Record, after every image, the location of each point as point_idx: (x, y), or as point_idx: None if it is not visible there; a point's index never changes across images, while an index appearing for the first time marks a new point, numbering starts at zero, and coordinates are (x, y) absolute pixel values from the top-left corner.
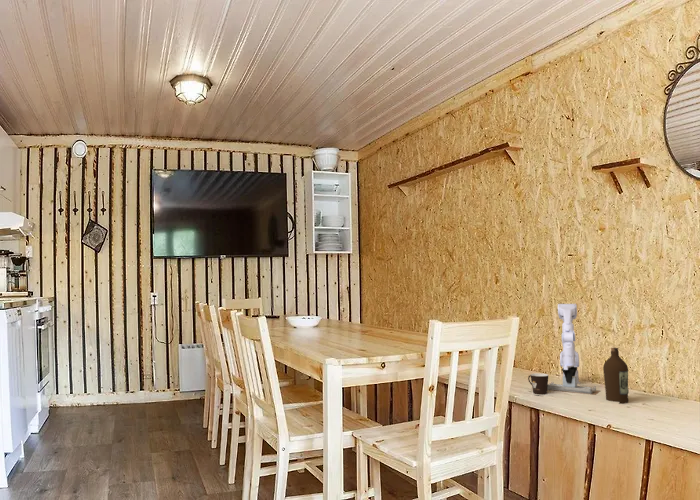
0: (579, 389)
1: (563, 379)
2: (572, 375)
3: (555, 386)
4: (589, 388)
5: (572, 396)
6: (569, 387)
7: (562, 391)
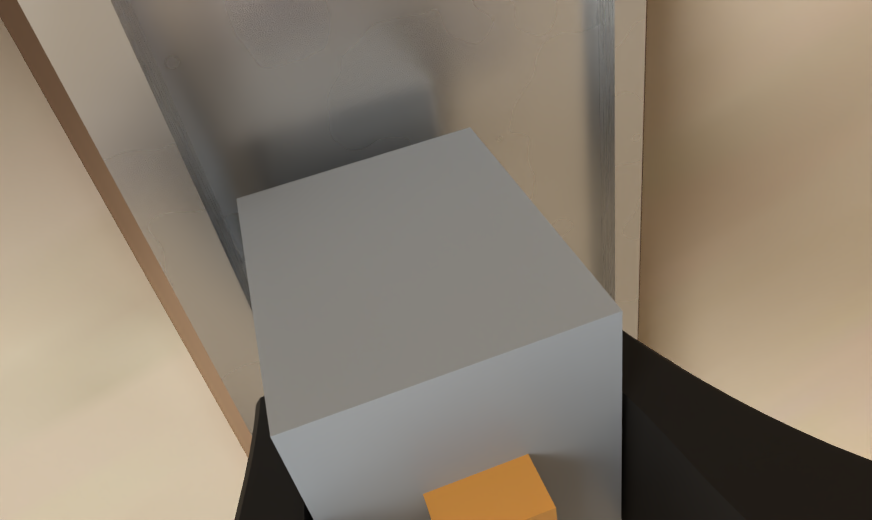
0: None
1: (266, 373)
2: (642, 517)
3: (33, 16)
4: None
5: (12, 464)
6: (229, 384)
7: (118, 192)
